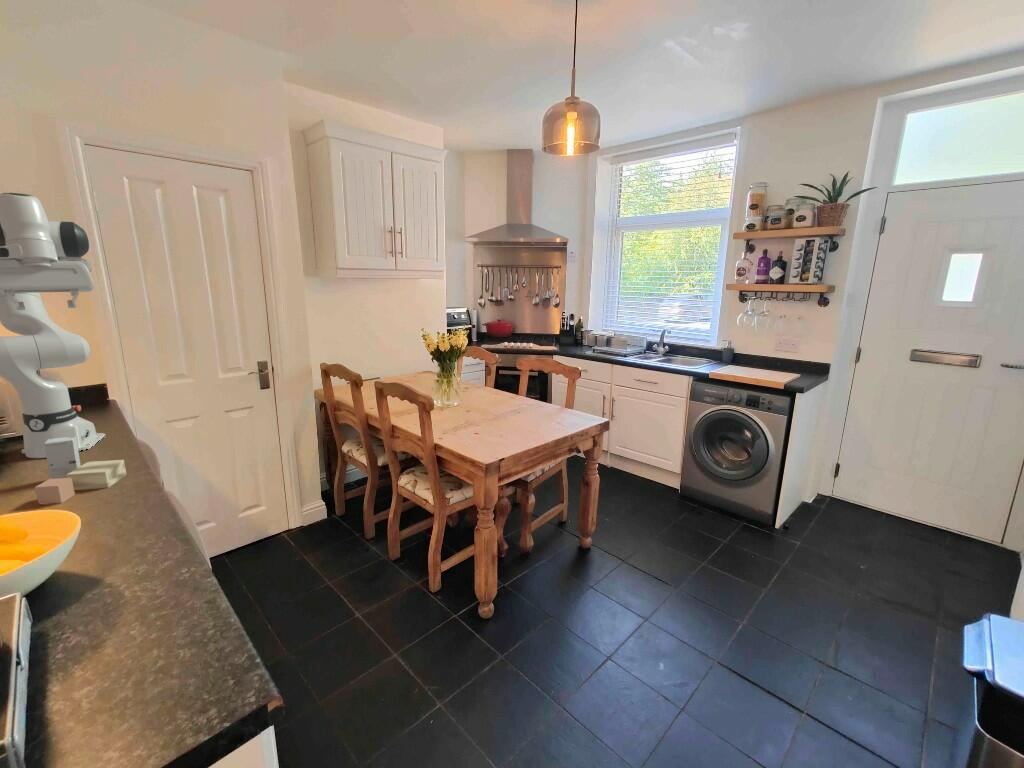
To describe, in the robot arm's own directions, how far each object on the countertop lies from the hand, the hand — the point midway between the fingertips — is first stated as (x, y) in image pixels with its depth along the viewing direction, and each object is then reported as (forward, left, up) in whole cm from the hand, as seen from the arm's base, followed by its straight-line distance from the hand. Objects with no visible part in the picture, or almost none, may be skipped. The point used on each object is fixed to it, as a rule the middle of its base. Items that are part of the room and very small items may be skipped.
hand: (47, 308), depth 117 cm
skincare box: (-5, -7, -50) cm, 51 cm away
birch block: (-1, +3, -50) cm, 50 cm away
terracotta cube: (+9, -1, -50) cm, 50 cm away
